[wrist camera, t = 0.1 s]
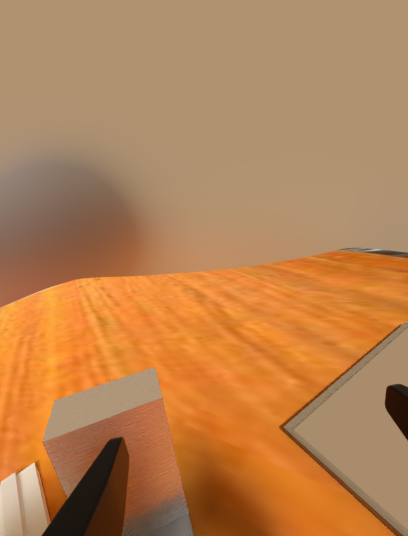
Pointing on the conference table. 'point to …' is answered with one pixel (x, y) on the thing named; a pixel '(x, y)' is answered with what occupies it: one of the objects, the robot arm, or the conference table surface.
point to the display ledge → (23, 504)
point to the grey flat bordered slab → (363, 433)
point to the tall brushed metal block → (138, 445)
